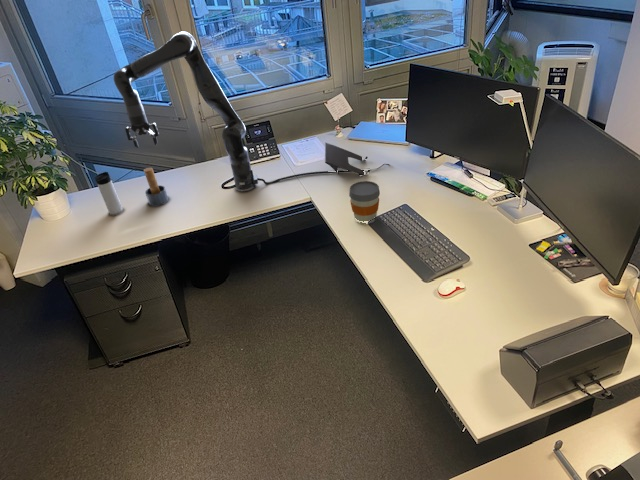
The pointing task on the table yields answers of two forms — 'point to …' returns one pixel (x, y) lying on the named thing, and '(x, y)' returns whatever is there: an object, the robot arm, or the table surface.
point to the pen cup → (157, 196)
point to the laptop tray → (341, 159)
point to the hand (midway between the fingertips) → (146, 145)
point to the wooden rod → (151, 180)
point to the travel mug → (109, 193)
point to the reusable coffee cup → (364, 200)
